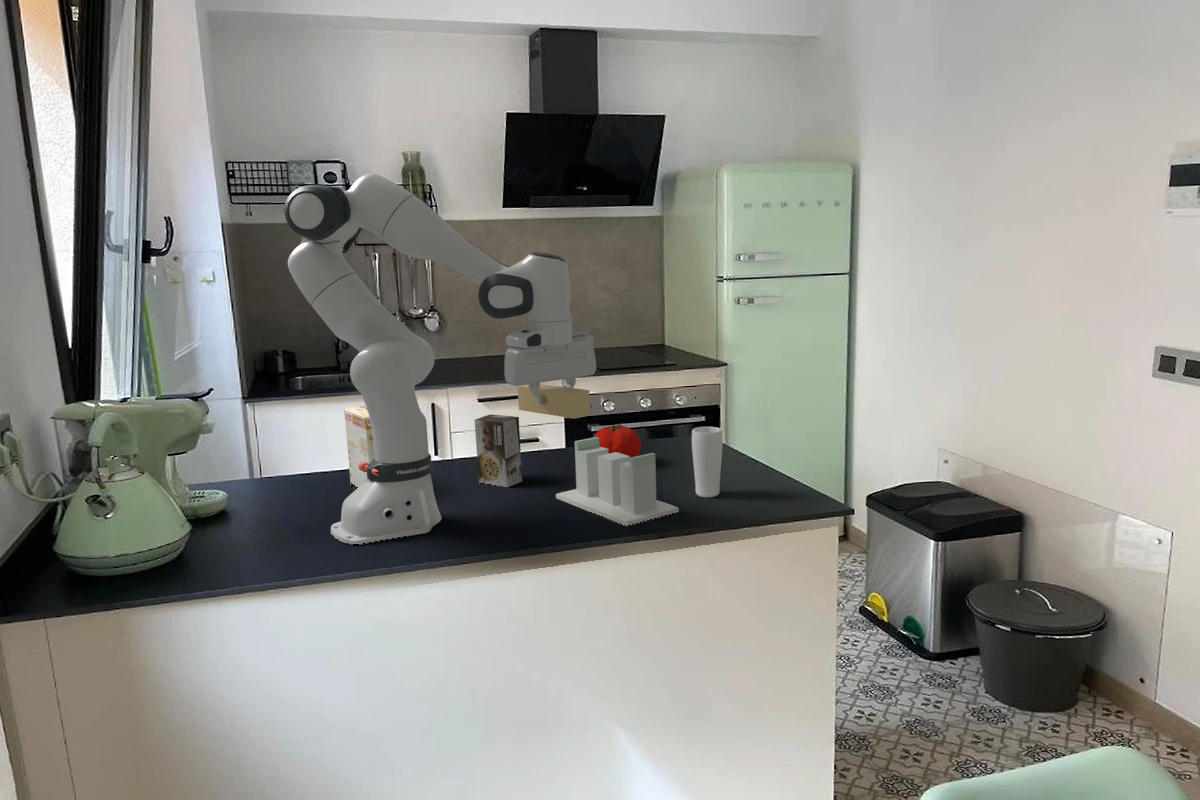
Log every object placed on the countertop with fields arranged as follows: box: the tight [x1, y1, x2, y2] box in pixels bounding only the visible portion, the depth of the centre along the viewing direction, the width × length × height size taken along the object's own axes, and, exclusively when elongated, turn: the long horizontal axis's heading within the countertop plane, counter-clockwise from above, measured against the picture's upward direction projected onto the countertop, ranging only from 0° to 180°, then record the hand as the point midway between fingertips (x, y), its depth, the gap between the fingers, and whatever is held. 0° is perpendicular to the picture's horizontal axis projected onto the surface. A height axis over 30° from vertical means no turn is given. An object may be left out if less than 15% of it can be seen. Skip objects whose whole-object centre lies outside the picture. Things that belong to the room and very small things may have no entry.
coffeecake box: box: [343, 405, 375, 487], centre depth 205 cm, size 15×7×20 cm, turn 34°
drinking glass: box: [691, 426, 723, 498], centre depth 193 cm, size 7×7×15 cm
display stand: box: [555, 437, 680, 527], centre depth 188 cm, size 14×26×13 cm, turn 36°
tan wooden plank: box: [517, 383, 591, 420], centre depth 176 cm, size 4×16×5 cm, turn 48°
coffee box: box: [474, 413, 523, 488], centre depth 208 cm, size 9×6×16 cm
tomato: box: [593, 422, 642, 458], centre depth 220 cm, size 13×12×11 cm
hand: (553, 402), depth 176 cm, fingers closed on tan wooden plank, 5 cm apart
